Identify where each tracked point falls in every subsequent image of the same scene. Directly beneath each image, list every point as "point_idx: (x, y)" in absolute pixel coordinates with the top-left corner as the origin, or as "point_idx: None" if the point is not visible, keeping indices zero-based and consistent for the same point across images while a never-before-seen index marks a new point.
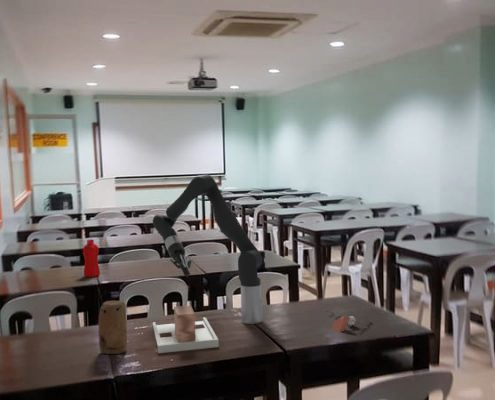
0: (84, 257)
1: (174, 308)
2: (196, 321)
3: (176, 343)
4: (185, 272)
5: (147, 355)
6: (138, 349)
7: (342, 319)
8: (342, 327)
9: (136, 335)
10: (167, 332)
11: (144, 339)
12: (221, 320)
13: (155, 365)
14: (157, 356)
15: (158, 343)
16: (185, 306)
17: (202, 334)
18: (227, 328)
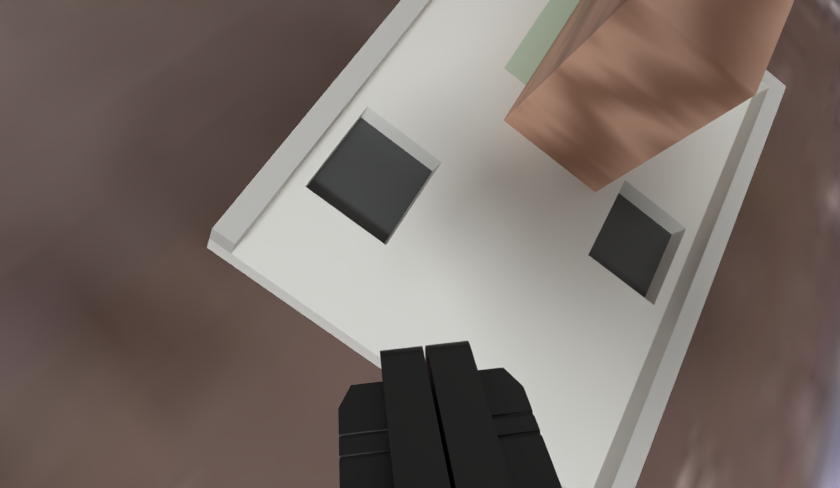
0: None
1: (758, 76)
2: (286, 289)
3: None
4: (521, 395)
5: (795, 132)
6: (800, 236)
7: None
8: None
9: (729, 470)
10: (608, 270)
11: (722, 349)
12: (19, 192)
13: (808, 21)
14: None
15: (771, 109)
16: (684, 11)
17: (473, 38)
18: (193, 15)
